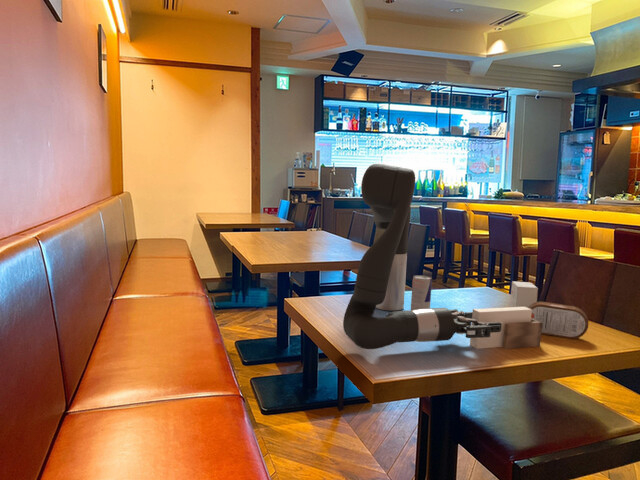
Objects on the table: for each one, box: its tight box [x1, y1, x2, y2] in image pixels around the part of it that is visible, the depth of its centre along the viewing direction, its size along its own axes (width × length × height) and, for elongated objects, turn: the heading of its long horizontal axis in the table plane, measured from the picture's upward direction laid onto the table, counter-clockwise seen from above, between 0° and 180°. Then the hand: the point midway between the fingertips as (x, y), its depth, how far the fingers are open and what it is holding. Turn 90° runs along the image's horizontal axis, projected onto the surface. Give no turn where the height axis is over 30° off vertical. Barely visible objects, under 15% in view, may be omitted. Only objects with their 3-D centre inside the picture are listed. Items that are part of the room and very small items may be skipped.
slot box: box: [502, 318, 543, 350], centre depth 116 cm, size 10×6×6 cm, turn 107°
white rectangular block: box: [469, 306, 532, 349], centre depth 114 cm, size 15×3×9 cm, turn 107°
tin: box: [528, 301, 589, 340], centre depth 124 cm, size 15×3×8 cm, turn 64°
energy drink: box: [410, 274, 433, 310], centre depth 134 cm, size 5×5×12 cm
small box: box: [509, 280, 539, 308], centre depth 138 cm, size 8×6×10 cm
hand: (488, 321), depth 113 cm, fingers open, 8 cm apart
